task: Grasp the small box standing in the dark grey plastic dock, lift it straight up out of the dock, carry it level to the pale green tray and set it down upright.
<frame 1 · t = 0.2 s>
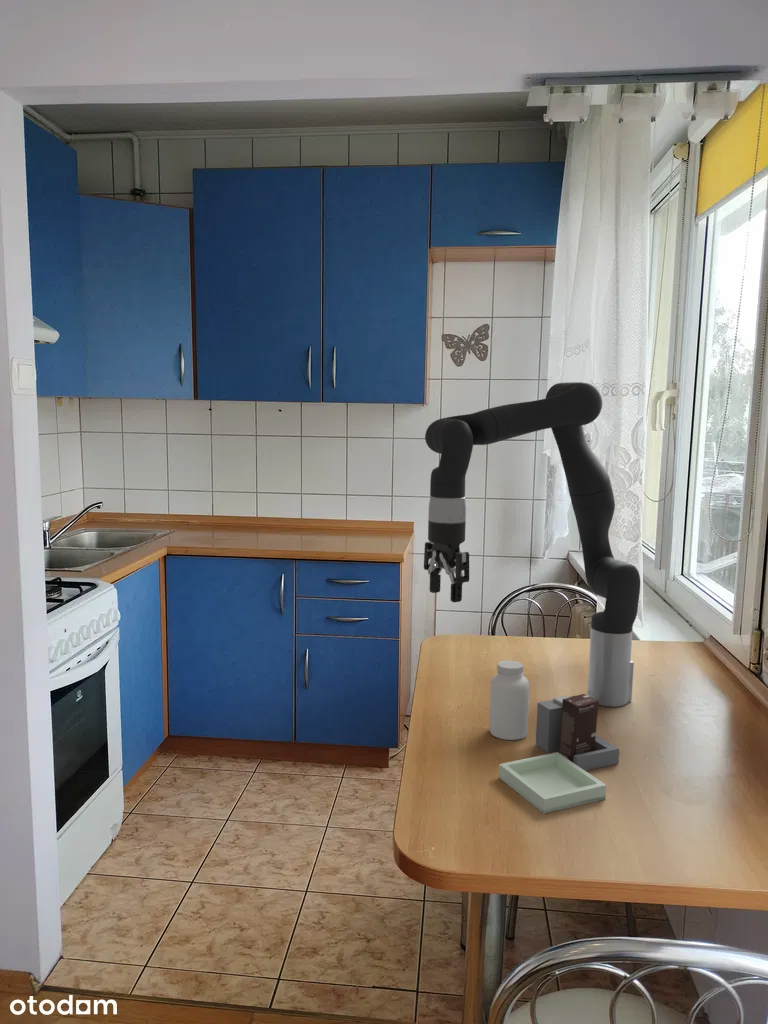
hand: (445, 596, 161), 29 cm above the table, fingers open, 8 cm apart
dock: (576, 758, 154), on the table
tray: (550, 787, 142), on the table
pill bottle: (508, 734, 165), on the table
box: (576, 759, 154), resting in dock
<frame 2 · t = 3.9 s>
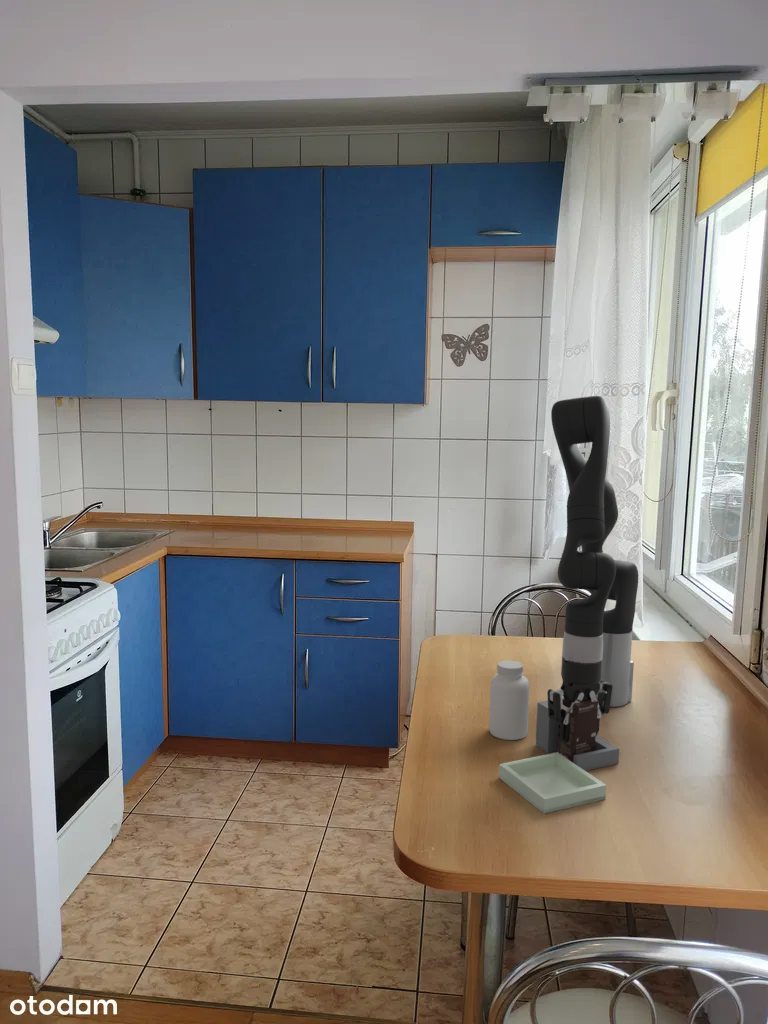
hand: (577, 737, 153), 4 cm above the table, fingers closed on box, 6 cm apart
box: (576, 759, 154), resting in dock, touching gripper
everything else where it was.
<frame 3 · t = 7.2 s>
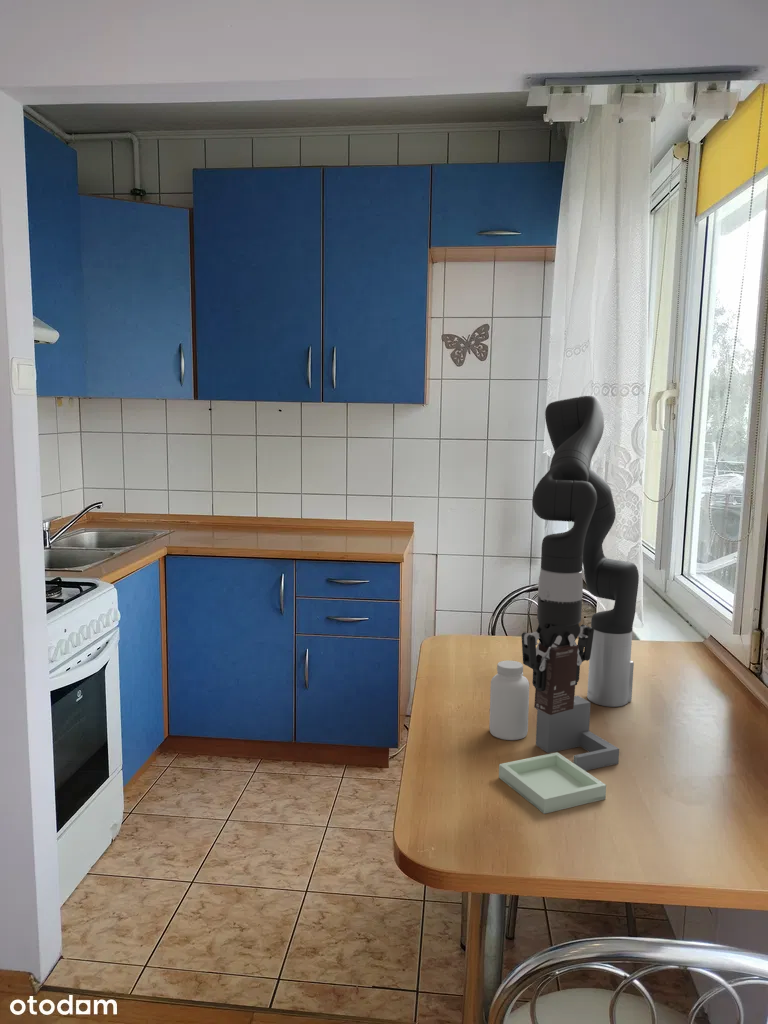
hand: (555, 686, 139), 19 cm above the table, fingers closed on box, 6 cm apart
box: (554, 710, 140), point 15 cm above the table, touching gripper
everything else where it was.
when the fingers open (6 cm above the table, at t = 10.5 s): box stays where it is, resting on tray.
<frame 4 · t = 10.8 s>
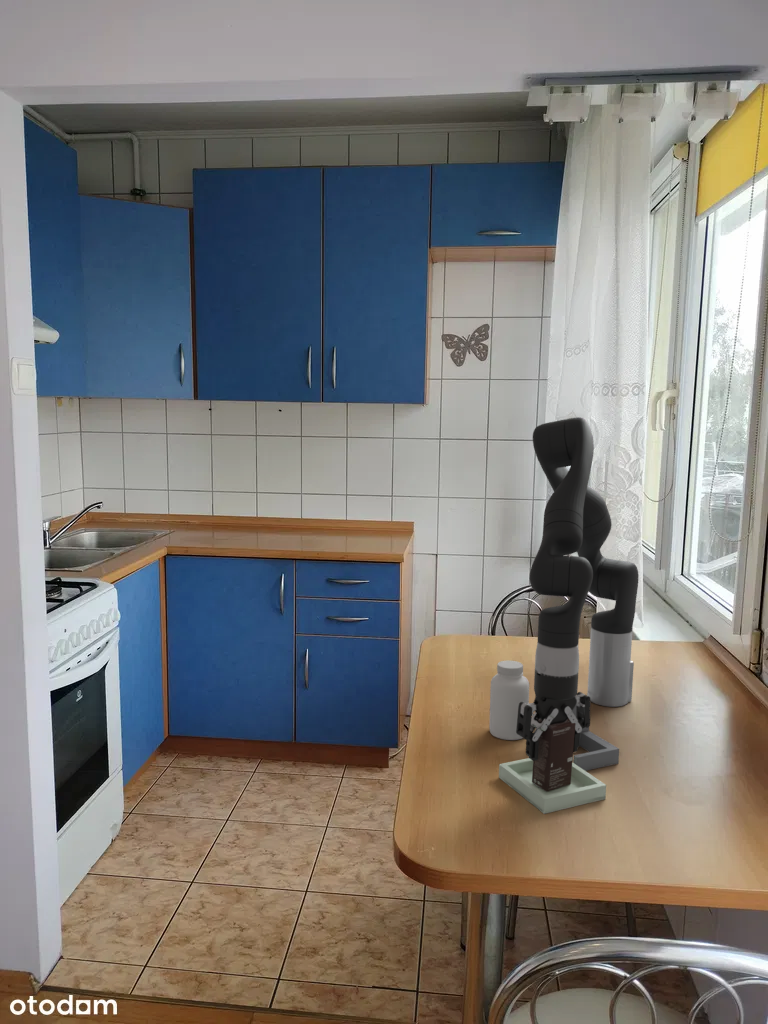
hand: (552, 754, 141), 6 cm above the table, fingers open, 8 cm apart
box: (551, 785, 142), resting on tray
everything else where it was.
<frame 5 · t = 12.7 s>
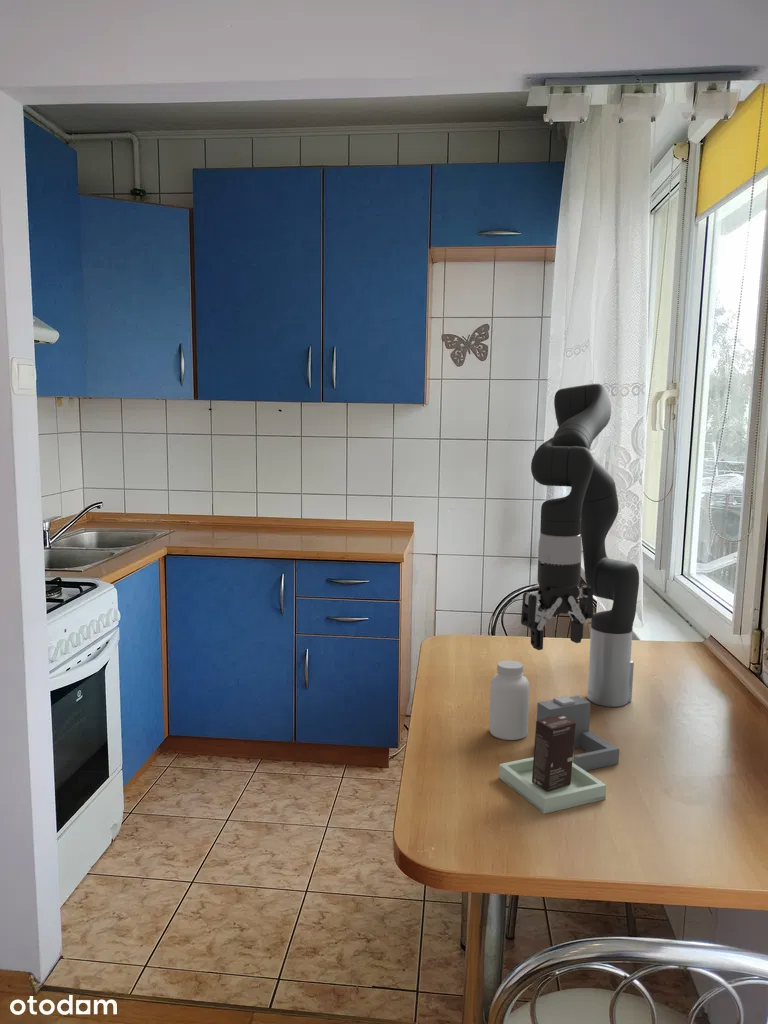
hand: (556, 645, 143), 25 cm above the table, fingers open, 8 cm apart
nothing on the table moved.
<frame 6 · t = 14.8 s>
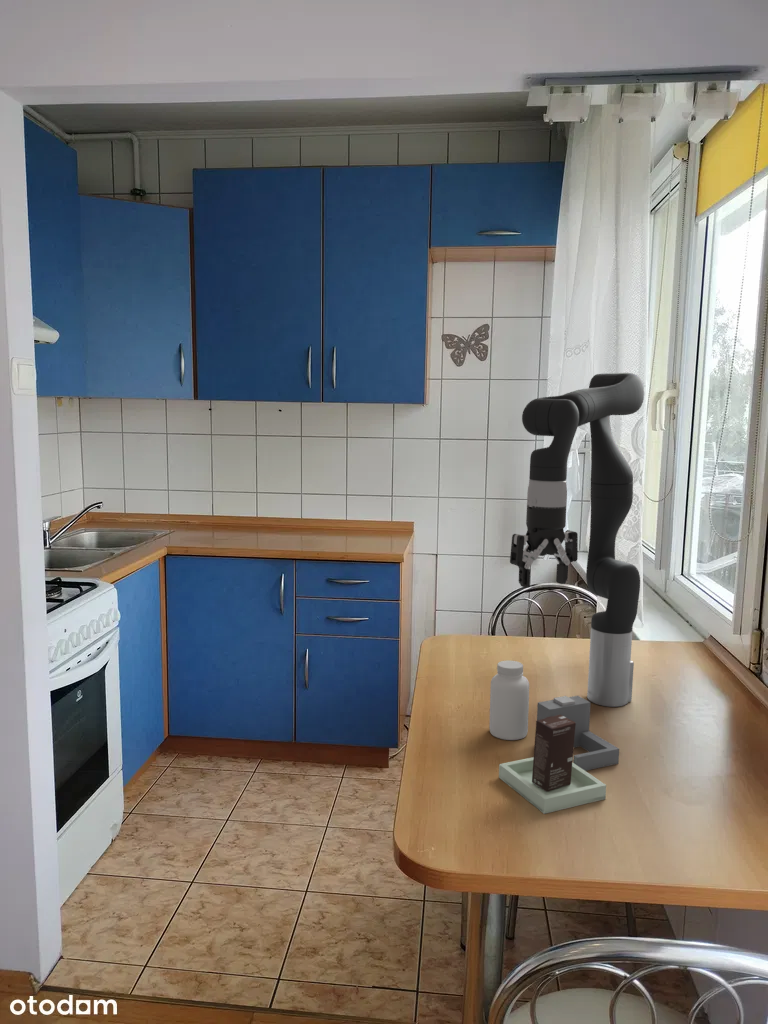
hand: (542, 585, 155), 33 cm above the table, fingers open, 8 cm apart
nothing on the table moved.
at the end: box inside the target area on the tray (0.3 cm from its centre), point 0.4 cm above the tray's base; box tilted 0°; the gripper is holding nothing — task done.
